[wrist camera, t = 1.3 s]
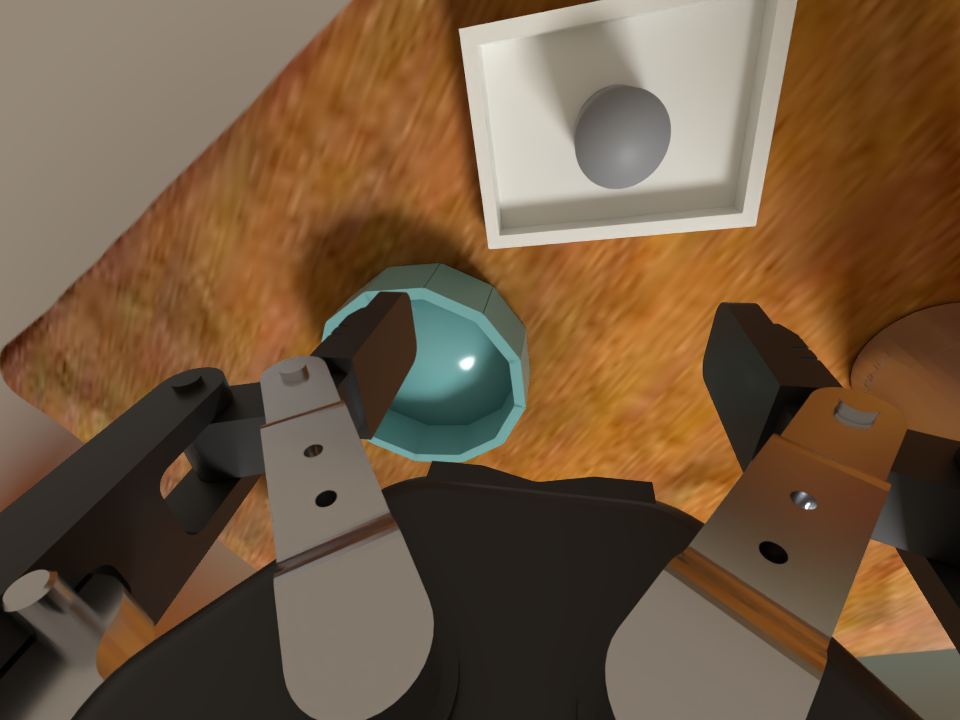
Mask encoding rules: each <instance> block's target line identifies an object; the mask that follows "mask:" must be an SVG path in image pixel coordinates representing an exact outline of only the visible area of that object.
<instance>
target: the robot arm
mask: <svg viewBox="0 0 960 720" xmlns="http://www.w3.org/2000/svg"><path fill="white" fill-rule="evenodd" d="M808 348H809V347H808V346H807V345H806V344H805V343H804V342H803V340H802V339H801V338H800V337H799V336H798V335H797V334H795V333H794V332H792V331H790V330H788V329H787V328H785V327H783V326H782V325H780V324H773V323H772V321H771V320H770V319H769V318H768V316H767V315H766V314H765V313H764V311H763V310H762V309H761V308H760V306H759V305H758V304H756V303H728V302H722V303H721V304H720V305H719V306H718V308H717V311H716V314H715V318H714V321H713V325H712V329H711V332H710V336H709V340H708V344H707V347H706V351H705V355H704V359H703V378H704V382H705V384H706V386H707V389H708V391H709V393H710V396H711V398H712V400H713V403H714V405H715V408H716V410H717V412H718V415H719V417H720V419H721V422H722V424H723V426H724V429H725V431H726V433H727V436H728V438H729V440H730V443H731V445H732V447H733V450H734V452H735V454H736V457H737V459H738V461H739V464H740V466H741V468H742V471H743V474H742V476H741V477H740V478H739V480H738V481H737V482H736V484H735V485H734V486H733V488H732V489H731V490H730V491H729V493H728V494H727V495H726V497H725V498H724V499H723V501H722V502H721V503H720V505H719V506H718V507H717V509H716V510H715V511H714V513H713V514H712V515H711V517H710V518H709V519H708V521H707V522H706V523H705V524H704V523H702V522H701V521H699V520H697V519H696V518H694V517H693V516H691V515H689V514H687V513H685V512H683V511H681V510H679V509H677V508H675V507H672V506H670V505H667V504H665V503H662V502H659V501H656V500H655V494H654V489H653V484H652V482H643V481H633V480H623V479H613V478H603V477H586V478H576V479H566V480H556V481H545V482H535V481H531V480H527V479H524V478H521V477H518V476H515V475H511V474H508V473H505V472H502V471H499V470H496V469H492V468H489V467H486V466H482V465H472V464H462V463H452V462H442V461H432V463H431V466H430V469H429V472H428V474H427V476H425V477H418V478H413V479H408V480H405V481H402V482H399V483H396V484H393V485H391V486H388V487H386V488H384V489H382V490H381V489H380V487H379V484H378V482H377V479H376V477H375V474H374V472H373V470H372V467H371V465H370V462H369V460H368V457H367V455H366V453H365V450H364V448H363V445H362V443H361V440H360V439H369V440H372V438H373V436H374V434H375V432H376V430H377V429H378V427H379V425H380V423H381V421H382V420H383V418H384V416H385V414H386V412H387V411H388V409H389V407H390V405H391V403H392V402H393V400H394V398H395V396H396V394H397V393H398V391H399V389H400V387H401V385H402V384H403V382H404V380H405V378H406V376H407V375H408V373H409V371H410V369H411V367H412V366H413V364H414V362H415V358H416V353H417V341H416V334H415V327H414V320H413V313H412V306H411V300H410V297H409V294H408V293H407V292H388V291H380V292H379V293H378V294H377V295H376V296H375V297H374V298H373V299H372V300H371V302H370V303H369V304H368V305H367V306H366V307H365V308H360V309H358V310H357V311H355V312H353V313H351V314H349V315H347V316H346V317H345V319H344V320H343V321H342V322H341V323H340V324H339V325H338V327H336V328H335V329H334V330H333V331H332V332H331V335H328V337H327V338H326V339H325V340H324V341H323V342H322V343H321V344H320V345H319V346H318V347H317V348H316V349H315V350H314V351H313V352H312V354H311V355H310V356H298V357H293V358H289V359H286V360H283V361H280V362H278V363H276V364H274V365H273V366H271V367H270V368H268V369H267V370H266V371H265V372H264V373H263V374H262V376H261V379H260V382H258V383H250V384H242V385H235V386H229V384H228V382H227V380H226V378H225V375H224V373H223V372H222V371H221V370H219V369H217V368H210V367H206V368H197V369H192V370H188V371H185V372H182V373H179V374H177V375H174V376H172V377H170V378H168V379H167V380H165V381H164V382H162V383H161V384H159V385H158V386H157V387H156V388H154V389H153V390H152V391H151V392H149V393H148V394H147V395H146V396H145V397H143V398H142V399H141V400H140V401H138V402H137V403H136V404H135V405H133V406H132V407H131V408H130V409H128V410H127V411H126V412H125V413H123V414H122V415H121V416H120V417H118V418H117V419H116V420H115V421H114V422H112V423H111V424H110V425H109V426H107V427H106V428H105V429H104V430H102V431H101V432H100V433H99V434H97V435H96V436H95V437H94V438H92V439H91V440H90V441H89V442H87V443H86V444H85V445H84V446H83V447H81V448H80V449H79V450H78V451H76V452H75V453H74V454H73V455H71V456H70V457H69V458H68V459H66V460H65V461H64V462H63V463H61V464H60V465H59V466H58V467H57V468H55V469H54V470H53V471H52V472H50V473H49V474H48V475H47V476H45V477H44V478H43V479H42V480H40V481H39V482H38V483H37V484H35V485H34V486H33V487H32V488H31V489H29V490H28V491H27V492H25V493H24V494H23V495H22V496H20V497H19V498H18V499H17V500H16V501H14V502H13V503H12V504H11V505H9V506H8V507H7V508H6V509H4V510H3V511H2V512H1V513H0V720H924V719H922V718H921V717H920V716H919V715H918V714H917V713H916V712H915V711H914V710H912V709H911V708H910V707H909V706H908V705H907V704H906V703H905V702H904V701H902V700H901V699H900V698H899V697H898V696H897V695H896V694H895V693H894V692H893V691H891V690H890V689H889V688H888V687H887V686H886V685H885V684H884V683H882V681H880V680H879V679H878V678H877V677H876V676H875V675H874V674H873V673H872V672H870V671H869V670H868V669H867V668H866V667H865V666H864V665H863V664H861V662H859V661H858V660H857V659H856V658H855V657H854V656H853V655H852V654H851V653H849V652H848V651H847V650H846V649H845V648H844V647H843V646H842V645H841V644H840V643H838V642H837V641H836V640H835V639H834V638H833V637H832V634H833V632H834V629H835V627H836V624H837V622H838V619H839V617H840V614H841V612H842V609H843V607H844V604H845V601H846V599H847V596H848V594H849V591H850V589H851V586H852V584H853V581H854V579H855V576H856V574H857V571H858V569H859V566H860V564H861V561H862V558H863V556H864V553H865V551H866V548H867V546H868V543H869V541H870V539H873V540H876V541H879V542H882V543H885V544H888V545H891V546H894V547H895V548H896V550H897V552H898V553H899V555H900V557H901V558H902V560H903V562H904V563H905V565H906V567H907V568H908V570H909V571H910V573H911V575H912V576H913V578H914V580H915V581H916V583H917V585H918V586H919V588H920V590H921V591H922V593H923V595H924V596H925V598H926V600H927V601H928V603H929V604H930V606H931V608H932V609H933V611H934V613H935V614H936V616H937V618H938V619H939V621H940V623H941V624H942V626H943V628H944V629H945V631H946V632H947V634H948V636H949V637H950V639H951V641H952V642H953V644H954V646H955V647H956V649H957V651H958V652H959V654H960V303H949V304H944V305H939V306H933V307H930V308H927V309H924V310H921V311H918V312H915V313H912V314H910V315H908V316H906V317H904V318H902V319H900V320H898V321H896V322H894V323H893V324H891V325H890V326H888V327H887V328H885V329H884V330H882V331H881V332H879V333H878V334H877V335H876V336H875V337H874V338H873V339H872V340H870V341H869V342H868V343H867V345H866V346H865V347H864V348H863V350H862V351H861V352H860V353H859V355H858V357H857V359H856V361H855V363H854V365H853V368H852V372H851V387H852V389H848V388H843V387H842V386H841V384H840V383H839V382H838V381H837V380H836V379H835V378H834V376H833V375H832V374H831V373H830V372H829V371H828V369H827V368H826V367H825V366H824V365H823V364H822V362H821V361H820V360H817V357H816V355H815V354H814V353H813V352H812V351H811V350H808ZM182 452H184V453H185V455H186V457H187V459H188V461H189V462H190V464H191V466H192V469H191V470H190V471H189V472H188V473H187V475H186V476H185V477H184V478H183V479H182V480H181V481H180V482H179V484H178V485H177V486H176V487H175V488H174V489H173V490H172V491H171V493H170V494H169V495H168V496H167V497H166V498H165V499H163V497H162V495H161V493H160V482H161V478H162V476H163V474H164V472H165V470H166V469H167V468H168V467H169V466H170V465H171V464H172V463H173V462H174V461H175V460H176V459H177V457H178V456H179V455H180V454H181V453H182ZM265 473H266V479H267V487H268V495H269V503H270V511H271V519H272V527H273V535H274V543H275V551H276V559H275V560H274V561H272V562H271V563H269V564H268V565H266V566H265V567H263V568H262V569H260V570H259V571H257V572H256V573H254V574H253V575H252V576H250V577H249V578H247V579H245V580H244V581H242V582H241V583H240V584H238V585H236V586H235V587H233V588H232V589H230V590H229V591H227V592H226V593H225V594H223V595H222V596H220V597H219V598H217V599H215V600H214V601H212V602H211V603H210V604H208V605H206V606H205V607H203V608H202V609H201V610H199V611H198V612H196V613H195V614H193V615H192V616H190V617H189V618H187V619H186V620H184V621H183V622H181V623H180V624H178V625H177V626H175V627H174V628H172V629H171V630H169V631H168V632H167V633H165V634H163V635H162V636H160V637H159V638H157V639H156V640H154V636H155V626H156V624H157V623H158V621H159V620H160V618H161V617H162V616H163V614H164V613H165V611H166V610H167V608H168V607H169V606H170V604H171V603H172V601H173V600H174V598H175V597H176V596H177V594H178V593H179V591H180V590H181V588H182V587H183V586H184V584H185V583H186V582H187V580H188V579H189V577H190V576H191V574H192V573H193V571H194V570H195V568H196V567H197V566H198V564H199V563H200V562H201V560H202V559H203V557H204V556H205V554H206V553H207V552H208V550H209V549H210V547H211V546H212V545H213V543H214V542H215V540H216V539H217V537H218V536H219V535H220V533H221V532H222V530H223V529H224V527H225V526H226V525H227V523H228V522H229V520H230V519H231V517H232V516H233V515H234V513H235V512H236V510H237V509H238V508H239V506H240V505H241V503H242V502H243V500H244V499H245V498H246V496H247V495H248V493H249V492H250V490H251V489H252V488H253V486H254V485H255V483H256V482H257V480H258V479H259V478H260V476H261V474H265ZM153 640H154V641H153Z"/></svg>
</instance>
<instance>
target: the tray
mask: <svg viewBox="0 0 960 720" xmlns="http://www.w3.org/2000/svg"><path fill="white" fill-rule="evenodd" d="M796 5H797V0H600V1H595V2H590V3H585V4H580V5H575V6H570V7H565V8H560V9H555V10H550V11H546V12H541V13H536V14H531V15H526V16H521V17H516V18H511V19H506V20H501V21H496V22H491V23H486V24H481V25H476V26H471V27H466V28H461V29H459V34H460V41H461V48H462V56H463V63H464V70H465V78H466V85H467V93H468V100H469V107H470V115H471V122H472V129H473V137H474V144H475V151H476V159H477V166H478V173H479V181H480V188H481V195H482V203H483V210H484V218H485V225H486V232H487V240H488V247H489V249H497V248H509V247H520V246H532V245H543V244H555V243H566V242H578V241H589V240H601V239H612V238H624V237H635V236H646V235H658V234H669V233H681V232H692V231H704V230H715V229H727V228H738V227H750V226H756V222H757V216H758V211H759V206H760V200H761V195H762V189H763V184H764V179H765V173H766V168H767V162H768V157H769V151H770V146H771V141H772V135H773V130H774V124H775V119H776V113H777V108H778V103H779V97H780V92H781V86H782V81H783V76H784V70H785V65H786V59H787V54H788V48H789V43H790V38H791V32H792V27H793V21H794V16H795V10H796ZM619 84H620V85H628V86H633V87H637V88H642V89H645V90H647V91H649V92H651V93H653V94H654V95H655V96H657V97H658V98H659V99H660V100H661V102H662V103H663V104H664V106H665V108H666V110H667V112H668V114H669V118H670V123H671V138H670V143H669V147H668V150H667V152H666V155H665V157H664V159H663V161H662V162H661V163H660V165H659V166H658V168H657V169H656V170H655V171H654V172H653V173H652V174H651V175H650V176H649V177H648V178H646V179H645V180H643V181H642V182H640V183H638V184H636V185H634V186H631V187H628V188H623V189H608V188H604V187H601V186H598V185H597V184H595V183H593V182H592V181H590V180H589V179H588V178H587V177H586V176H585V175H584V173H583V172H582V170H581V169H580V167H579V165H578V162H577V159H576V154H575V144H574V126H575V122H576V118H577V116H578V113H579V111H580V109H581V108H582V106H583V105H584V103H585V102H586V101H587V100H588V99H589V98H590V97H591V96H592V95H593V94H594V93H596V92H597V91H599V90H601V89H602V88H605V87H607V86H611V85H619Z"/></svg>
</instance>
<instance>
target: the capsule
mask: <svg viewBox="0 0 960 720" xmlns="http://www.w3.org/2000/svg"><path fill="white" fill-rule="evenodd" d="M670 138H671V123H670V118H669V114H668V112H667V110H666V108H665V106H664V104H663V103H662V102H661V100H660V99H659V98H658V97H657V96H655V95H654V94H653V93H651V92H649V91H647V90H645V89H642V88H637V87H633V86H628V85H620V84H619V85H611V86H607V87H605V88H602V89H601V90H599V91H597V92H596V93H594V94H593V95H592V96H591V97H590V98H589V99H588V100H587V101H586V102H585V103H584V105H583V106H582V108H581V109H580V111H579V113H578V116H577V118H576V122H575V126H574V144H575V154H576V159H577V162H578V165H579V167H580V169H581V170H582V172H583V173H584V175H585V176H586V177H587V178H588V179H589V180H590V181H592V182H593V183H595V184H597V185H598V186H601V187H604V188H608V189H623V188H628V187H631V186H634V185H636V184H638V183H640V182H642V181H643V180H645V179H646V178H648V177H649V176H650V175H651V174H652V173H653V172H654V171H655V170H656V169H657V168H658V166H659V165H660V163H661V162H662V161H663V159H664V157H665V155H666V152H667V150H668V147H669V143H670Z"/></svg>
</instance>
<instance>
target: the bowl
mask: <svg viewBox="0 0 960 720" xmlns="http://www.w3.org/2000/svg"><path fill="white" fill-rule="evenodd" d="M380 291H388V292H407V293H408V294H409V297H410V300H411V306H412V313H413V320H414V327H415V334H416V341H417V353H416V358H415V362H414V364H413V366H412V367H411V369H410V371H409V373H408V375H407V376H406V378H405V380H404V382H403V384H402V385H401V387H400V389H399V391H398V393H397V394H396V396H395V398H394V400H393V402H392V403H391V405H390V407H389V409H388V411H387V412H386V414H385V416H384V418H383V420H382V421H381V423H380V425H379V427H378V429H377V430H376V432H375V434H374V436H373V438H372V440H369V439H367V440H368V441H369V442H370V441H371V442H370V443H373V444H375V445H377V446H380V447H382V448H385V449H387V450H390V451H392V452H395V453H397V454H400V455H402V456H404V457H407V458H409V459H412V460H414V461H415V460H416V461H442V462H465V461H467V460H469V459H471V458H473V457H476V456H478V455H480V454H482V453H484V452H487V451H489V450H491V449H493V448H495V447H498V446H500V445H502V444H504V442H505V440H506V439H507V437H508V436H509V434H510V432H511V431H512V429H513V428H514V426H515V424H516V423H517V421H518V419H519V418H520V416H521V415H522V413H523V411H524V410H525V408H526V402H527V394H528V386H529V379H530V365H529V355H528V345H527V335H526V329H525V326H524V325H523V324H522V323H521V321H520V320H519V319H518V317H517V316H516V315H515V314H514V312H513V311H512V310H511V308H510V307H509V306H508V305H507V303H506V302H505V301H504V299H503V298H502V297H501V296H500V294H499V293H498V292H497V290H496V289H495V288H494V287H492V285H490V284H487V283H485V282H483V281H481V280H478V279H476V278H474V277H472V276H469V275H467V274H465V273H463V272H460V271H458V270H456V269H454V268H451V267H449V266H447V265H445V264H442V263H441V264H440V263H432V264H420V265H407V266H395V267H388V268H386V269H384V270H383V271H382V272H381V273H379V274H378V275H377V276H376V277H374V278H373V279H372V280H371V281H369V282H368V283H367V284H366V285H364V286H363V287H362V288H361V289H359V290H358V291H357V292H356V293H354V294H353V295H352V296H351V297H350V298H349V299H348V300H347V301H346V302H345V303H344V304H343V305H342V306H341V307H340V308H339V309H338V310H337V311H336V312H335V313H334V314H333V315H332V316H331V317H330V318H329V319H328V320H327V321H326V323H325V327H324V332H323V337H322V342H323V341H324V340H325V339H326V338H327V337H328V335H331V332H332V331H333V330H334V329H335V328H336V327H338V325H339V324H340V323H341V322H342V321H343V320H344V319H345V317H346V316H347V315H349V314H351V313H353V312H355V311H357V310H358V309H360V308H365V307H366V306H367V305H368V304H369V303H370V302H371V300H372V299H373V298H374V297H375V296H376V295H377V294H378V293H379V292H380ZM322 342H321V343H322Z"/></svg>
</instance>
